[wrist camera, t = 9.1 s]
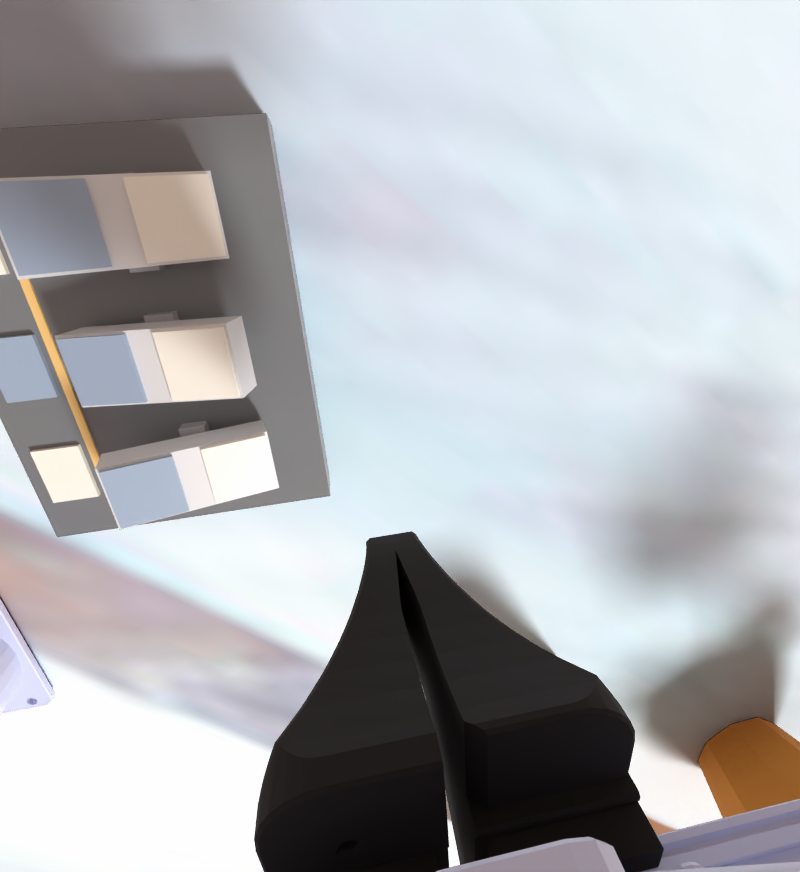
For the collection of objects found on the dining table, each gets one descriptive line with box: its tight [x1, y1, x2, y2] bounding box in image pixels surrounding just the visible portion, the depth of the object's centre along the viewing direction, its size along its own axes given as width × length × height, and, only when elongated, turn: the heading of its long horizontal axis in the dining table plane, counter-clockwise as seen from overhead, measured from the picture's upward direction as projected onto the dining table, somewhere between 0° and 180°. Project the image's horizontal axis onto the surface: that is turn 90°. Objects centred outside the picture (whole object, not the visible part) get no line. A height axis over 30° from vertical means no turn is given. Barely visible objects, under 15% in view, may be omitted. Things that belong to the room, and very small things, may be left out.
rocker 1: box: [0, 171, 229, 280], centre depth 15 cm, size 6×3×2 cm, turn 93°
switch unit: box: [0, 113, 330, 537], centre depth 18 cm, size 12×15×3 cm
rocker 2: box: [55, 316, 257, 407], centre depth 16 cm, size 6×3×2 cm, turn 95°
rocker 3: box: [95, 420, 279, 530], centre depth 18 cm, size 6×3×2 cm, turn 93°
